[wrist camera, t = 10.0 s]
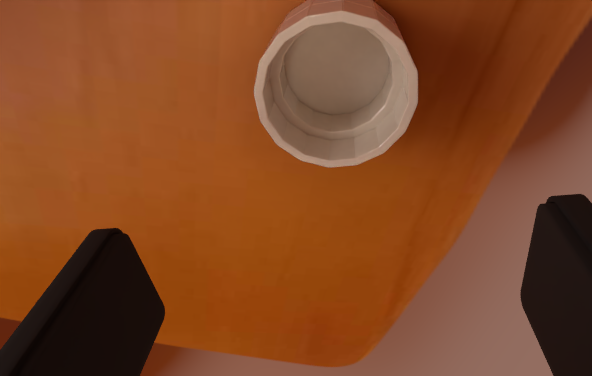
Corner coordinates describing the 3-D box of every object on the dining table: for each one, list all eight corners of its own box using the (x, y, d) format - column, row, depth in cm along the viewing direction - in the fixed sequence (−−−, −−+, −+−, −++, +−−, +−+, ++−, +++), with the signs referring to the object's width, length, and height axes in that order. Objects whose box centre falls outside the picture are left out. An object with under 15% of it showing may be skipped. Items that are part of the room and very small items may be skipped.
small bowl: (257, 2, 20) (237, 26, 16) (403, -21, 19) (418, -2, 15) (283, 130, 23) (272, 173, 20) (405, 117, 22) (418, 160, 19)
